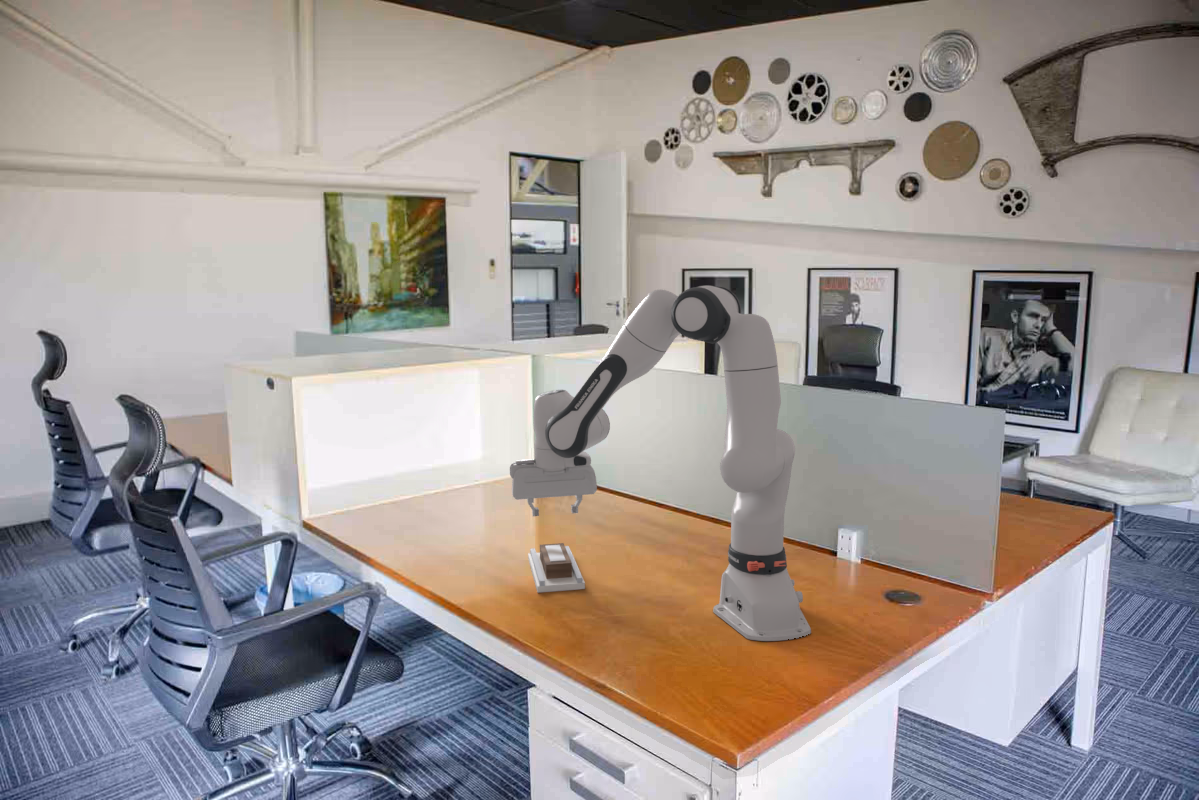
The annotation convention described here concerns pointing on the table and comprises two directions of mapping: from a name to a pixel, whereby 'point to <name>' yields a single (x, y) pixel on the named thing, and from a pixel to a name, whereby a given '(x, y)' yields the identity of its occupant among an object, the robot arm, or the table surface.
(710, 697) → the table surface
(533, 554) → the picture ledge
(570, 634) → the table surface
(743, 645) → the table surface
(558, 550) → the picture frame
